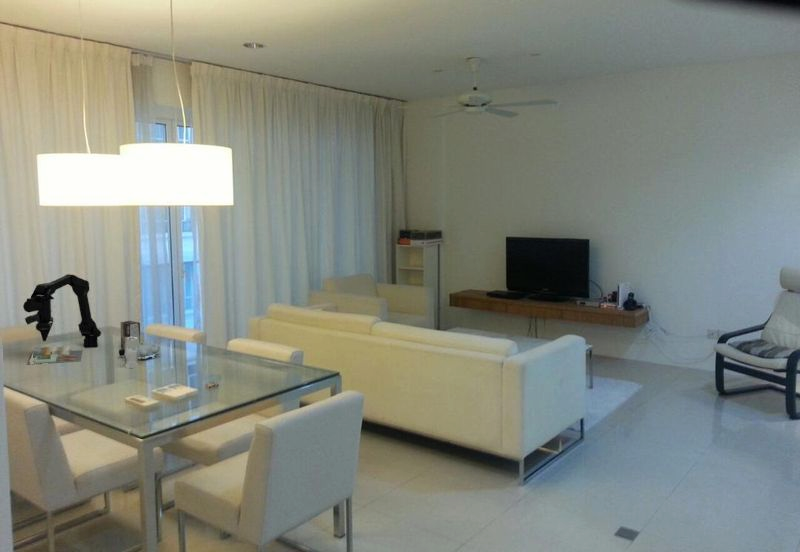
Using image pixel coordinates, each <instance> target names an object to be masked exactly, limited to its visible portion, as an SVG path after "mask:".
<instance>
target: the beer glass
mask: <svg viewBox="0 0 800 552" xmlns="http://www.w3.org/2000/svg"><path fill="white" fill-rule="evenodd" d="M139 348H140V344H139V337H127V338H125V354H126V358H125V359H126V363H125V365H126V364H127V365H132V364H136V363H138V364H139V360H138V355H139Z"/></svg>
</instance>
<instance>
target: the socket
mask: <svg viewBox="0 0 800 552" xmlns="http://www.w3.org/2000/svg"><path fill="white" fill-rule="evenodd" d="M62 358H74V359H62ZM62 361H76V355H73V356H61V357H60V362H62Z"/></svg>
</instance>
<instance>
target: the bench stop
mask: <svg viewBox="0 0 800 552" xmlns="http://www.w3.org/2000/svg"><path fill="white" fill-rule="evenodd" d="M41 348H42V346H36V347H35V346H34V349H33V351H32V353H33V358H35V357H36V356H38V355H41Z"/></svg>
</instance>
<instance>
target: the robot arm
mask: <svg viewBox="0 0 800 552" xmlns="http://www.w3.org/2000/svg"><path fill="white" fill-rule="evenodd" d="M68 285H69V286H70V287H71V289H72V292H73V293H74V294H75V296H76V298H77V303H78V309H79V312H80V318H81V319H80V323H78V331H79V332H80V335H81V336H82V337H84V338H83V347H84V348H85V349H94V348H95V349H96V348H98V347H99V343H98V338H99V337H101V335H102V331H100V329H99V328H98V326H97V324H96V322H95V320H94V319H93V318H92V314H91V308H90V307H91V306H90V302H89V298H88V297H89V296H88V293H89V292H90V282H89V281H88V280H87V279H83V278H80V277H79V276H77V275H75V274H70V273H69V274H68V273H67V274H65V275H64V276H61V277H59V278H57V279H55V280H52V281H50V282H46V283H39V284H37V285H35V289H34V290H33V291H32V294H31V295H30V298H26V300H25V302H24V303H23V305H22V307H23V310H24V311H25V312H26V313H32V312H36V313H35V314H32V315H29V316H26V317H25V318H24V320H25V323H26V324H27V325H31V324H32V323H36V324H35V330H37V331H38V332H39V333H40V335H41V340H42V342H46V341H47V339H48V337H49V333H50V331H51V329H52V328H53V323H54V317H53V316H52V301H53V300H55V297H53V295H54V294H55V293H56V291H57V290H58V289H61V288H63V287H66V286H68Z"/></svg>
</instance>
